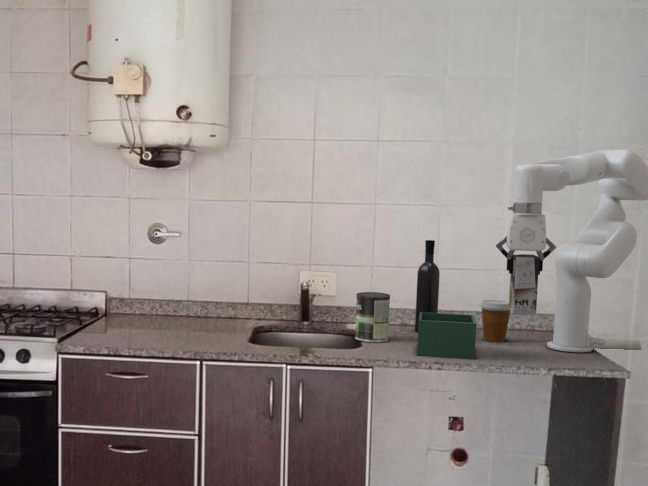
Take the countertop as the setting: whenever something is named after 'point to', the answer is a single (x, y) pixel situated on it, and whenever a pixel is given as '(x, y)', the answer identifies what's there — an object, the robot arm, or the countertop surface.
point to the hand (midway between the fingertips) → (524, 273)
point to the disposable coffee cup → (495, 319)
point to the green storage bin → (446, 335)
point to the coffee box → (524, 284)
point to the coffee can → (372, 317)
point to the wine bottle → (427, 284)
